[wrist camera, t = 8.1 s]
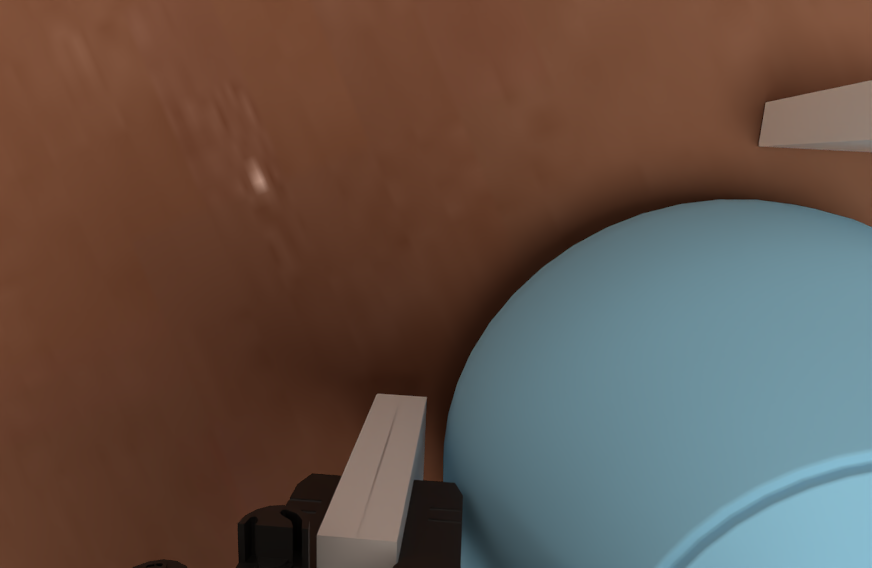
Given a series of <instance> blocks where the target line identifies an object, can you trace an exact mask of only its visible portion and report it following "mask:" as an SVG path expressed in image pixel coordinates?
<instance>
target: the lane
mask: <svg viewBox="0 0 872 568" xmlns="http://www.w3.org/2000/svg"><path fill="white" fill-rule="evenodd" d="M759 146H761V147H780V148H800V149H819V150H838V151H857V152H872V80H870V81H866V82H861V83H856V84H851V85H846V86H842V87H837V88H832V89H827V90H823V91H818V92H813V93H808V94H803V95H799V96H794V97H789V98H784V99H779V100H775V101H770V102H766V103H765V109H764V115H763V121H762V127H761V133H760V140H759Z"/></svg>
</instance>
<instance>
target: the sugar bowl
mask: <svg viewBox="0 0 872 568" xmlns="http://www.w3.org/2000/svg"><path fill="white" fill-rule="evenodd" d="M443 482H450V483H455V484H456V485H457V487H458V488H459V490H460V492H461V493H462V495H463V513H462V540H461V568H872V227H870V226H868V225H865V224H863V223H861V222H858V221H856V220H854V219H850V218H846V217H843V216H839V215H835V214H832V213H828V212H824V211H821V210H817V209H813V208H808V207H803V206H799V205H793V204H786V203H778V202H771V201H763V200H725V199H718V200H710V201H702V202H694V203H685V204H679V205H675V206H671V207H667V208H663V209H659V210H655V211H651V212H647V213H643V214H640V215H638V216H635V217H632V218H630V219H627V220H625V221H622V222H619V223H617V224H614V225H612V226H609V227H607V228H605V229H603V230H601V231H599V232H597V233H595V234H594V235H592V236H590V237H588V238H586V239H584V240H582V241H581V242H579V243H577V244H575V245H573V246H572V247H570V248H569V249H567V250H566V251H565V252H563V253H562V254H560V255H559V256H558V257H556V258H555V259H553V260H552V261H551V262H549V263H548V264H546V265H545V266H544V267H542V268H541V269H540V270H539V271H538V272H537V273H536V274H535V275H533V276H532V277H531V278H530V279H529V280H528V281H527V282H526V283H525V284H524V285H523V286H522V287H521V288H519V289H518V290H517V291H516V292H515V293H514V294H513V295H512V296H511V298H510V299H509V300H508V301H507V302H506V304H505V305H504V306H503V307H502V308H501V310H500V311H499V312H498V313H497V314H496V316H495V317H494V318H493V319H492V321H491V322H490V323H489V325H488V326H487V328H486V329H485V331H484V333H483V334H482V336H481V337H480V339H479V341H478V342H477V344H476V345H475V347H474V348H473V350H472V352H471V354H470V356H469V358H468V360H467V362H466V365H465V367H464V369H463V371H462V374H461V376H460V378H459V380H458V382H457V386H456V389H455V392H454V396H453V399H452V403H451V406H450V409H449V413H448V419H447V426H446V433H445V440H444V456H443Z"/></svg>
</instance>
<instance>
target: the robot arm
mask: <svg viewBox="0 0 872 568" xmlns="http://www.w3.org/2000/svg"><path fill="white" fill-rule="evenodd" d="M426 404H427V397H420V396H405V395H391V394H377V395H376V397H375V399H374V402H373V404H372V406H371V409H370V411H369V413H368V416H367V418H366V420H365V423H364V425H363V427H362V430H361V432H360V435H359V437H358V439H357V442H356V444H355V446H354V449H353V451H352V453H351V456H350V458H349V460H348V463H347V465H346V467H345V470H344V472H343V474H342V476H337V475H324V474H311V475H310V476H308V477H307V478H305V479H304V480H303V481H301V482H300V483H299V484H297V486H296V488H295V490H294V492H293V493H292V495H291V497H290V500H289V501H288V502H287V504H286V506H285V505H279V506H268V507H264V508H260V509H257V510H255V511H253V512H251V513H249V514H247V515H245V516H244V517H243V518H242V519H241V520H240V521H239V522H238V552H239V563H238V565H237V567H236V568H461V540H462V513H463V495H462V493H461V492H460V490H459V488H458V487H457V485H456V484H455V483H450V482H437V481H424V480H423V475H424V451H425V428H426ZM133 568H187V567H186V566H185V565H183V564H181V563H180V562H178V561H172V560H157V561H149V562H146V563H143V564H141V565H138V566H135V567H133Z"/></svg>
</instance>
